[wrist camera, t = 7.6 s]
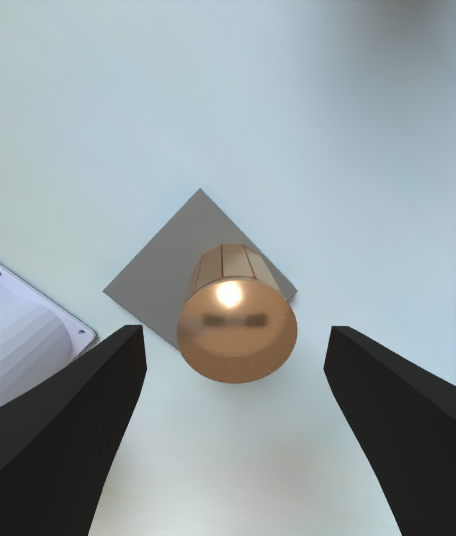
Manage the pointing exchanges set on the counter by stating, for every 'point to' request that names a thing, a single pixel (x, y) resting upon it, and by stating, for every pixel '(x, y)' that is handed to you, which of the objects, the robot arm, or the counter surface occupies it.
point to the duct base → (178, 265)
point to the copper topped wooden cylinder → (235, 317)
